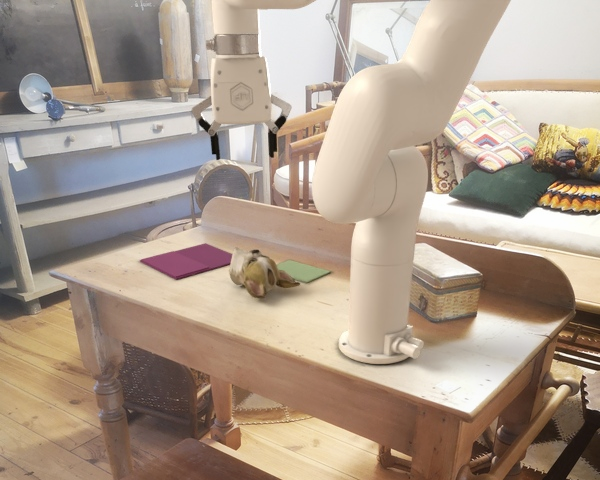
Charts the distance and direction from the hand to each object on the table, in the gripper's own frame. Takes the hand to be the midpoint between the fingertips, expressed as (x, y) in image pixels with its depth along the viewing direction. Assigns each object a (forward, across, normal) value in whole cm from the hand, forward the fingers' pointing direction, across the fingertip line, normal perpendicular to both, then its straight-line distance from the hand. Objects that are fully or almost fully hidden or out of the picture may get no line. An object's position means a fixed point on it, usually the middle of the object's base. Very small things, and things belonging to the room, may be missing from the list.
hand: (244, 157), depth 107 cm
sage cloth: (+25, +10, +9) cm, 29 cm away
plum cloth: (+25, -13, +20) cm, 35 cm away
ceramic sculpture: (+26, +1, 0) cm, 26 cm away
